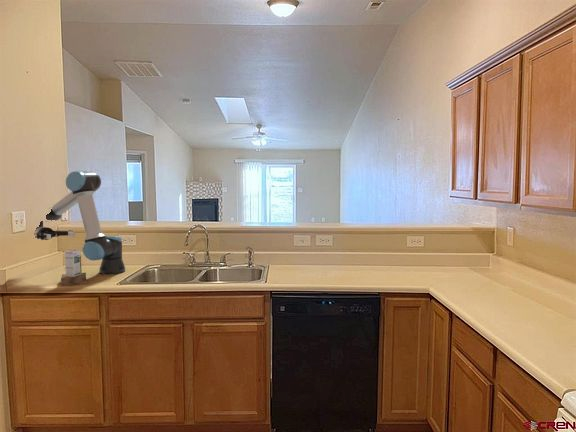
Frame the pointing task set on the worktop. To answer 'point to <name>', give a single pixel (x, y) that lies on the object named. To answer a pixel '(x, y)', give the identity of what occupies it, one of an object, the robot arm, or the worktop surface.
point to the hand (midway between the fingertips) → (62, 235)
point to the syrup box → (73, 263)
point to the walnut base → (73, 280)
